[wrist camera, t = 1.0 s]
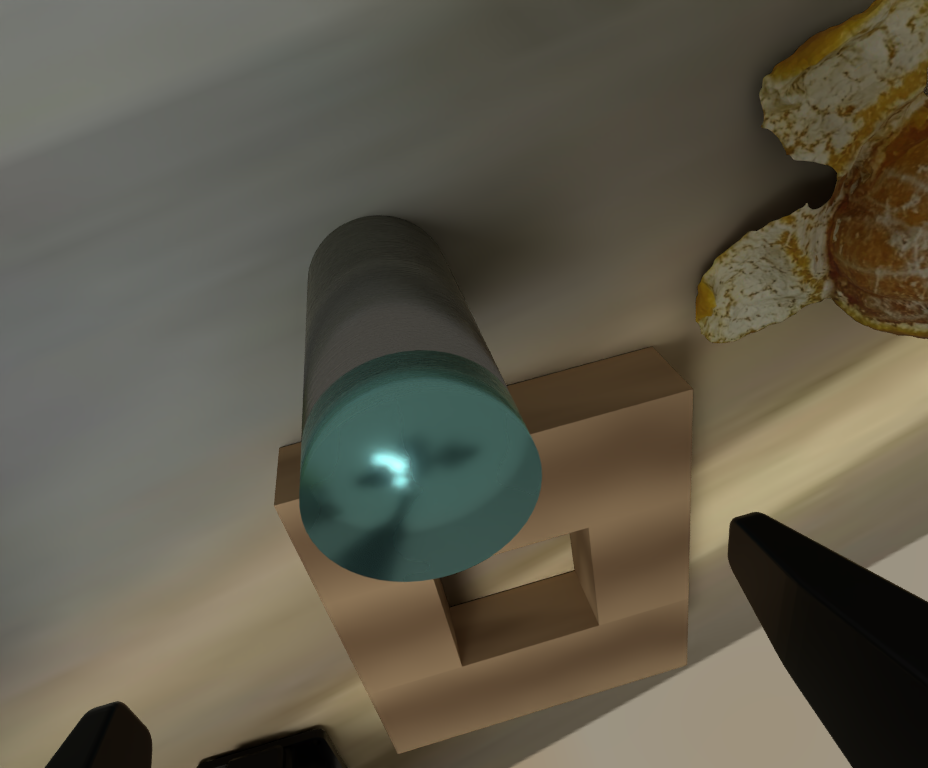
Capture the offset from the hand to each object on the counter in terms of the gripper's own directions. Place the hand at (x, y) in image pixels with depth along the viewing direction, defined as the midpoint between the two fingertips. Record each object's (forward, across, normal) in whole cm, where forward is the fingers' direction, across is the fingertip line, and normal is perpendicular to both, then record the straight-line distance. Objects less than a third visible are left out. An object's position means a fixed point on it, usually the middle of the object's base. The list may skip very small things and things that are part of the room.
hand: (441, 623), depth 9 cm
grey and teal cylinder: (+13, 0, 0) cm, 13 cm away
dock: (+13, -2, +13) cm, 18 cm away
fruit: (+13, -17, +1) cm, 21 cm away
